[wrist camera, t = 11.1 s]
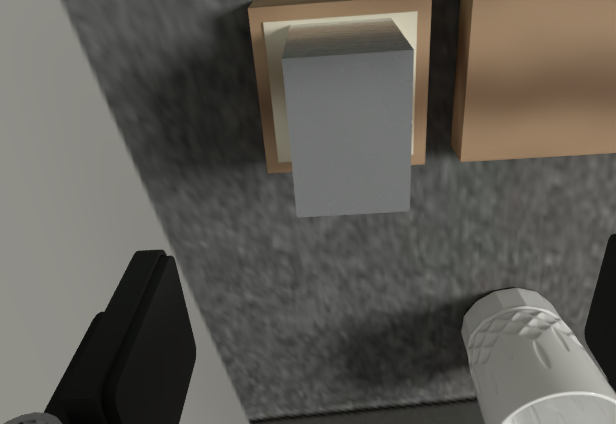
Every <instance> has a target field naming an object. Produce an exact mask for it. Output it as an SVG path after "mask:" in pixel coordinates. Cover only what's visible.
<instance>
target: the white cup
mask: <svg viewBox="0 0 616 424" xmlns="http://www.w3.org/2000/svg"><path fill="white" fill-rule="evenodd" d="M461 334H462V337H463V341H464V344H465V347H466V351H467V355H468V361H469V368H470V372H471V376H472V379H473V383H474V388H475V392H476V396H477V400H478V403H479V407H480V410H481V414H482V418H483V421H484V424H616V393H615V392H614V390H613V389H612V388H611V386H610V385H609V383H608V382H607V380H606V379H605V378H604V376H603V375H602V373H601V372H600V370H599V369H598V367H597V366H596V364H595V363H594V362H593V360H592V359H591V357H590V356H589V354H588V353H587V351H586V350H585V349H584V348H583V346H582V345H581V344H580V343H579V341H578V340H577V338H576V337H575V335H574V334H573V332H572V331H571V330H570V329H569V327H568V326H567V325H566V324H565V323H564V322H563V321H562V319H561V318H560V316H559V315H558V313H557V312H556V310H555V309H554V307H553V306H552V304H551V303H550V302H549V301H547V300H546V299H545V298H544V297H542V296H541V295H540V294H538V293H537V292H535V291H530V290H525V289H520V288H511V289H505V290H499V291H494V292H492V293H490V294H489V295H487V296H485V297H483V298H481V299H479V300H478V301H476V302H475V303H474V305H473V306H472V307H471V308H470V309H469V311H468V312H467V313H466V314H465V315H464V319H463V325H462V330H461Z"/></svg>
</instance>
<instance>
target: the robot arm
mask: <svg viewBox="0 0 616 424" xmlns="http://www.w3.org/2000/svg"><path fill="white" fill-rule="evenodd" d="M585 340H586V343H587V345H588V347H589V349H590V350H591V352H592V354H593V355H594V357H595V359H596V360H597V362H598V363H599V365H600V367H601V368H602V370H603V372H604V373H605V375H606V377H607V378H608V380H609V381H610V383H611V385H612V386H613V388H614V390H615V391H616V234H613V235H611V236H610V237H609V240H608V243H607V247H606V251H605V255H604V258H603V262H602V266H601V270H600V273H599V277H598V281H597V285H596V288H595V292H594V296H593V300H592V303H591V307H590V311H589V315H588V318H587V322H586V326H585ZM195 360H196V345H195V340H194V336H193V332H192V328H191V324H190V320H189V316H188V312H187V307H186V303H185V300H184V295H183V291H182V287H181V283H180V279H179V275H178V270H177V266H176V262H175V259H174V257H173V256H167V255H166V253H165V252H164V250H145V251H137V252H136V253H135V254H134V255H133V257H132V259H131V261H130V263H129V265H128V267H127V269H126V271H125V273H124V275H123V277H122V279H121V281H120V283H119V285H118V287H117V289H116V291H115V292H114V294H113V296H112V298H111V300H110V302H109V304H108V306H107V308H106V310H105V312H100V313H98V314H97V315H96V316H95V318H94V319H93V321H92V323H91V324H90V326H89V328H88V330H87V332H86V334H85V336H84V338H83V339H82V341H81V343H80V345H79V347H78V349H77V351H76V353H75V355H74V356H73V358H72V360H71V362H70V364H69V366H68V368H67V370H66V372H65V373H64V375H63V377H62V379H61V381H60V383H59V385H58V387H57V388H56V390H55V392H54V394H53V396H52V398H51V400H50V402H49V404H48V405H47V407H46V409H45V411H44V413H30V414H25V415H21V416H19V417H16V418H14V419H12V420H10V421H7V422H6V423H4V424H179V421H180V418H181V414H182V410H183V406H184V402H185V399H186V394H187V391H188V387H189V383H190V379H191V375H192V372H193V368H194V364H195Z"/></svg>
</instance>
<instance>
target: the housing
mask: <svg viewBox="0 0 616 424" xmlns="http://www.w3.org/2000/svg"><path fill="white" fill-rule="evenodd" d="M282 66H283V76H284V87H285V97H286V108H287V118H288V128H289V139H290V149H291V160H292V170H293V181H294V191H295V201H296V212H297V217H313V216H331V215H349V214H367V213H385V212H403V211H410V182H411V144H412V106H413V68H414V49H413V48H412V46H411V45H410V43H409V42H408V41H407V39H406V38H405V36H404V35H403V34H402V32H401V31H400V29H399V28H398V27H397V25H396V24H395V22H394V21H393V20H392V18H378V19H365V20H351V21H337V22H324V23H310V24H296V25H290V27H289V31H288V35H287V39H286V44H285V48H284V52H283V56H282Z"/></svg>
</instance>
